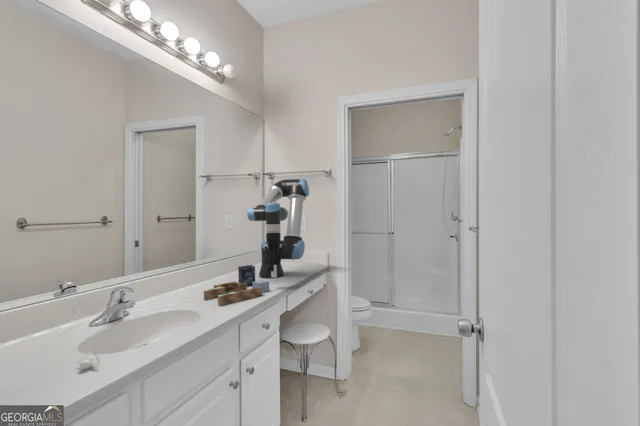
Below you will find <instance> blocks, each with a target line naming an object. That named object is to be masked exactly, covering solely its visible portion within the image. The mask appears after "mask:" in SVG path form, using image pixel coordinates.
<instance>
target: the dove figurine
mask: <svg viewBox="0 0 640 426" xmlns="http://www.w3.org/2000/svg"><path fill="white" fill-rule="evenodd" d="M99 352H100V349H97V350H96V349H93V352H92V355H91V356H87V357H81V358H80V359H79V360H77V361H74V363H75V364H78V365H79V368H80V369H81V370H82V371H83V370H88V369H90V368H91V366H100V362H101V361H100V356H99V357H98V353H99Z"/></svg>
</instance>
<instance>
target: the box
mask: <svg viewBox="0 0 640 426" xmlns="http://www.w3.org/2000/svg"><path fill="white" fill-rule="evenodd" d="M237 267H238V273H237V274H238V283H247V287H249V286H252V282H255V281H256V266H255V265H253V264H249V265H247V264H246V265H241V266H237Z"/></svg>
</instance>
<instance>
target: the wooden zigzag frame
mask: <svg viewBox="0 0 640 426" xmlns="http://www.w3.org/2000/svg"><path fill="white" fill-rule="evenodd" d="M262 296H263V293H262V287H257V288H249V289H248V286H247V283H239V282H237V281H229V282H225V283H220V284H215V285H213V288H208V289H204V290H203V300H204V301H208V300H212V299H213V300H214V299H216V298H217V305H218V306H219V307H221V306H227V305H229V304H233V303H238V302H242V301H246V300H249V299H254V298H258V297H262Z"/></svg>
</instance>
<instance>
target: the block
mask: <svg viewBox="0 0 640 426" xmlns="http://www.w3.org/2000/svg"><path fill="white" fill-rule="evenodd" d="M251 286H252V288H257V287H262V294H263V293H264V294H265V293H267V292H270V282H269V281H268V280H265V279H261V280H260V279H259V280H255V282H252V285H251ZM252 288H251V289H252Z"/></svg>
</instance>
